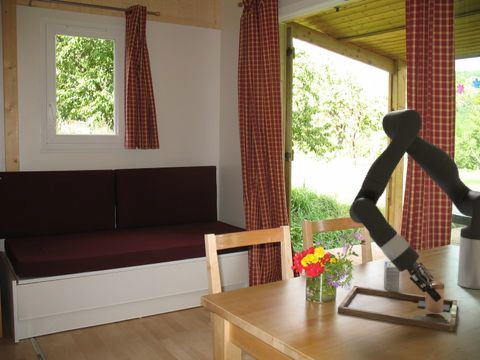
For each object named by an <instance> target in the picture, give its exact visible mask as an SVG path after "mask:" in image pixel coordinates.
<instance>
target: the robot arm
mask: <svg viewBox="0 0 480 360" xmlns="http://www.w3.org/2000/svg"><path fill="white" fill-rule="evenodd" d="M422 125H423V119H422V116H421V114H420V113H419V112H418V111H417V110H415V109H412V108H405V109H398V110H393V111H390V112H388V113H386V114H384V116H383V118H382V122H381V126H382V130H383V132H384V133H385V135H386V136H387V137H388V138H389V139H390V140H391V141H390V143H388V146H386V148H384V150H383V152H381V154H380V155H379V156H378V157H377V158H376V159H375V160H374V162H372V163H371V166H370V167H369V169H368V171H367V173H366V175H365V177H364V180H363V182H362V184H361V186H360V189H359V191H358V192H357V194H356V196H355V198H354V199H353V201H352V203H351V205H350V208H349V212H348V213H349V217H350V219H351V220H352V221H353V222H354V223H356V224H361V225H363V227H365V229H366V230H367V231H368V235H369V237H370V238H371V240H372V241H373V242H374V243H375V244H376V246H378V247H379V249H380V250H381V251H382V252H383V254H384V255H385V256H386V258H387V259H388V260H389V261H391V262H392V263H393V264H394V266H395V267H396V268H397V269H398V270H399V271H400V272H401V273H402V272H404V271H405V270H406V271H407V272H408V274H409V280H410V281H412V283H413V284H414V285H416V286H417V288H418V289H419V290H421V292H422V293H426V292H427V293H428V294H429V295H430V296H431V297H432V299H433V300H434V301H435V302H437V301H439V300H440V299H441V295H440V294H439V293H438V292H437V291H436V290H435V289H434V288H433V286H432V285H431V284H430V283H429V281H435V279H434V276H433V275H432V274H431V273H430V271H429V270H428V269H427V268H426V267H425V265H424V264H423V263H422V262H417V261H418V260H419V259H420V255H419V253H418V252H417V251H416V250H415V249H414V248H413V247H412V245H410V243H409V242H408V241H407V240H406V239H405V238H404V237H403V236H402V235H401V234H399V233H398V231H397V230H396V229H395V228H394V227H393V226H392V225H391V223H389V222H388V221H387V219H386V218H385V216H384V214H383V213H382V212H381V210H380V209H379V207H378V206H377V204H378V201H379V200H380V198H381V197H382V195H383V194H384V192H385V191H386V188H387V186H388V185H389V182H390V179H391V177H392V175H393V174H394V171H395V170H396V168H397V167H398V165H399V163H400V162H401V160H402V159H403V157H404V155H405V154H406V153H407V154H408V155H409V157H410V158H411V159H412V160H413V161H414V162H415V163H416V164H417V165H418V166H419V167H420V168H421V169H422V171H423V172H424V173H425V174H426V175H427V176H428V177H429V178H430V179H431V180H432V181H433V182H434V183H435V184H436V185H437V186H438V187H439V188H440V190H441V191H442V192H443V193H445V194H446V196H447V197H448V199H449V200H450V201H451V202H452V204H453V205H454V207H455V208H456V209H457V210H458V211H459V213H460V214H462V215H463V216H466V217H468V218H470V224H468V225H467V226H464V227H461V229H460V234H459V251H458V266H457V267H458V269H457V285H458V286H460V287H462V288H467V289H472V290H480V191H478V190H472V189H471V188H470V187H468V186H467V185H466V184H465V183H464V182H463V181H462V180H461V178H460V173H459V168H458V165H457V164H456V162H455V161H454V159H453V158H452V157H451V156H450V155H449V154H448V153H447V152H446V151H445V150H444V149H443V148H440V146H438V145H436V144H434V143H432V142H430V141H429V140H426V139H425V138H423V137H421V136H420V135H419V133H420V131H421V128H422V127H423V126H422Z"/></svg>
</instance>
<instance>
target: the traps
mask: <svg viewBox="0 0 480 360" xmlns="http://www.w3.org/2000/svg"><path fill="white" fill-rule="evenodd" d="M450 307H451V306H450V304H444V303H443V312H447V313H449V312H450ZM417 308H419V309H420V308H421V309H425V301H424V300H419V301H418V304H417ZM413 318H417V319H423V320H429V321H435V322H441V323H448V324H449V322H448V321H449V320H448V319H444V318H439V317H438V318H437V317H432V316H426V315H420V314H419V315H418V314H414V315H413Z"/></svg>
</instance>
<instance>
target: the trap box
mask: <svg viewBox="0 0 480 360" xmlns="http://www.w3.org/2000/svg"><path fill="white" fill-rule="evenodd" d="M357 293H360V294H361V293H362V294H368V295H376V296H382V297H386V298H387V297H388V298H389V297H390V298H396V299H401V300H402V299H403V300H408V301H415V302H419V300H424V301H425V298H426V295H422V294H421V295H420V294H414V293H409V292H408V293H406V292H400V291H399V292H394V291H387V290H385V289H378V288H373V287H371V288H370V287H364V286H358V285H354V286H353V287H352V289H351V290H350V291H348V294H346V296H345V297H344V298H343V300H342V302H340V304H339V305H338V307H337V313H338V314H339V313H340V314H345V315H350V316H351V315H352V316H357V317H364V318H369V319H375V320H381V321H386V322H392V323H398V324H404V325H405V324H406V325H411V326H418V327H422V328H423V327H424V328H429V329H435V330H440V331H447V332H453V333H455V328H456V320H457V319H456V318H457V311H458V308H457V307H458V300H455V299H450V298H449V299H448V298H444V301H443V303H444V304H450V307H451V313H450V323H449V322H448V323H441V322H435V321H429V320H423V319H417V318H414V317H410V316H409V317H408V316H403V315H397V314H392V313H385V312H377V311H374V310H373V311H372V310H367V309H362V308H361V309H360V308H354V307H348V305H349V304H350V302H351V301H352V300H353V299H354V297H355V295H356V294H357Z"/></svg>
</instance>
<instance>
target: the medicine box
mask: <svg viewBox="0 0 480 360" xmlns="http://www.w3.org/2000/svg"><path fill="white" fill-rule="evenodd" d="M383 273H384V275H383V286H384V290H387V291H394V292H400V278H401V277H400V275H401V273H400V271H399V270H398V269H397V268H396V267H395V266H394V264H393V263H392V262H391V261H390V260H389V261H388V260H387V261H384V271H383Z"/></svg>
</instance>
